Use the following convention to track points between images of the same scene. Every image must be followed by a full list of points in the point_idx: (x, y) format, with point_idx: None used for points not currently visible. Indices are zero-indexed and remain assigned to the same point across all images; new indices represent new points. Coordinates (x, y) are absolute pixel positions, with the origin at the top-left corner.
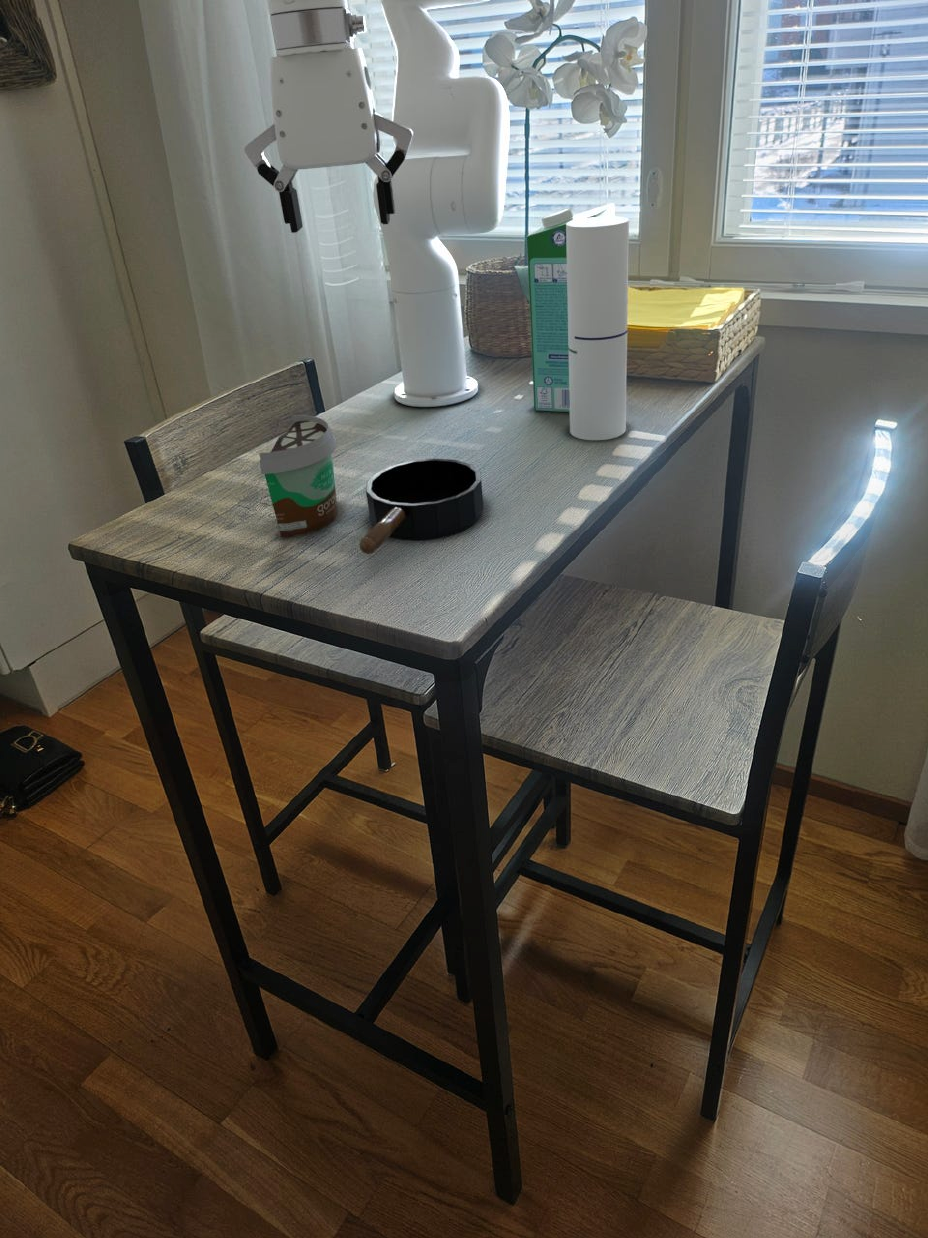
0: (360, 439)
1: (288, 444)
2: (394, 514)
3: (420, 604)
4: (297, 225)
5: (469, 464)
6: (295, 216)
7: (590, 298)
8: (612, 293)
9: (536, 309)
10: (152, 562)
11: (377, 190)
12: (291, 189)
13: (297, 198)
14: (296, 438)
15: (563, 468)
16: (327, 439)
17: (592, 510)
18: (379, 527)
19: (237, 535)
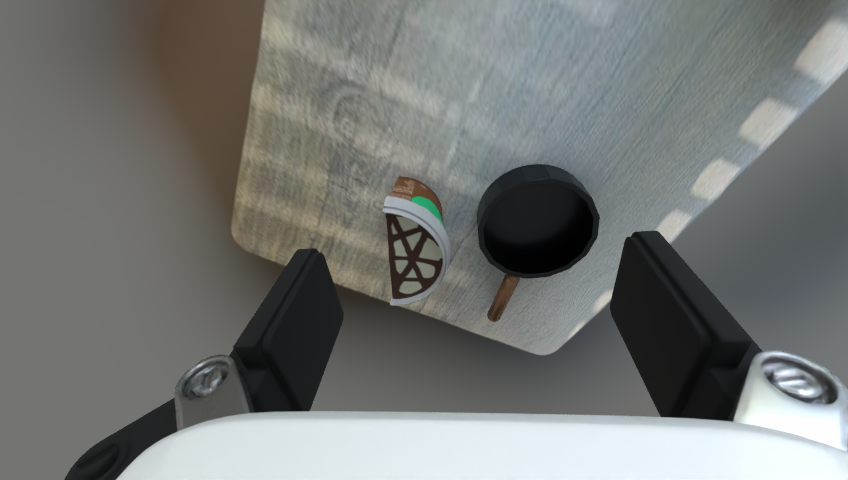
0: None
1: (405, 270)
2: (512, 289)
3: (528, 328)
4: (338, 321)
5: (589, 199)
6: (332, 347)
7: None
8: None
9: None
10: None
11: (656, 402)
12: (281, 392)
13: (287, 321)
14: (408, 258)
15: (706, 108)
16: (445, 266)
17: (694, 217)
18: (502, 308)
19: (361, 239)
